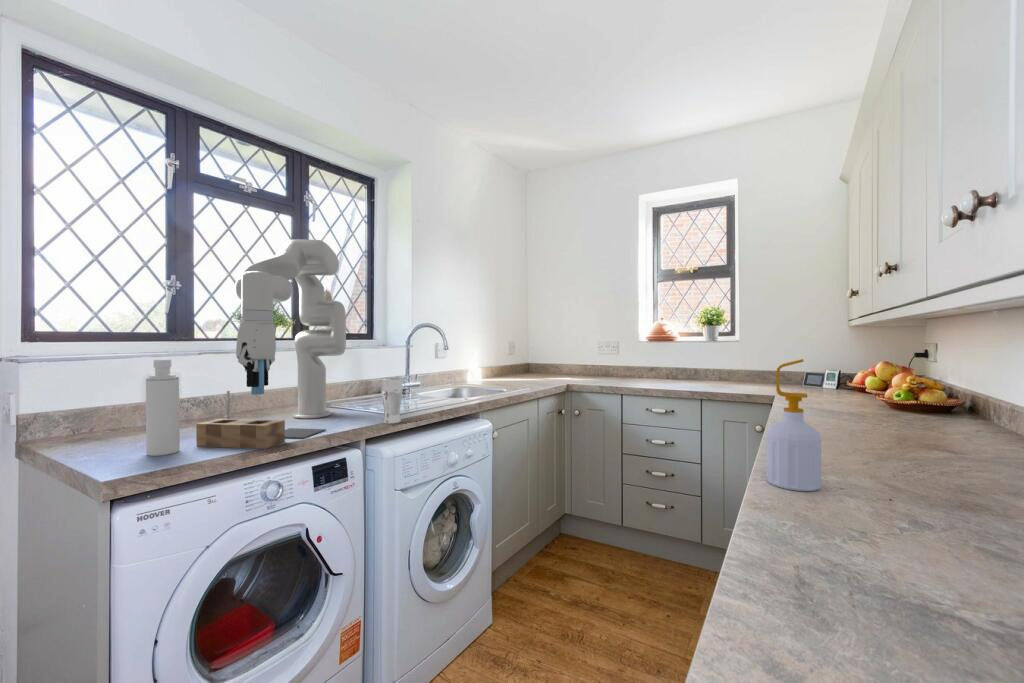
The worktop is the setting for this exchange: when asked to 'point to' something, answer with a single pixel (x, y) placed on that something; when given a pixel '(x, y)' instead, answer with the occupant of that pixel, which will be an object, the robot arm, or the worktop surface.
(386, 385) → the beer glass
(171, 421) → the white capped bottle
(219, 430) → the hole block
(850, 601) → the worktop surface
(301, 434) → the mat
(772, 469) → the soap bottle
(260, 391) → the pin
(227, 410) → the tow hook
